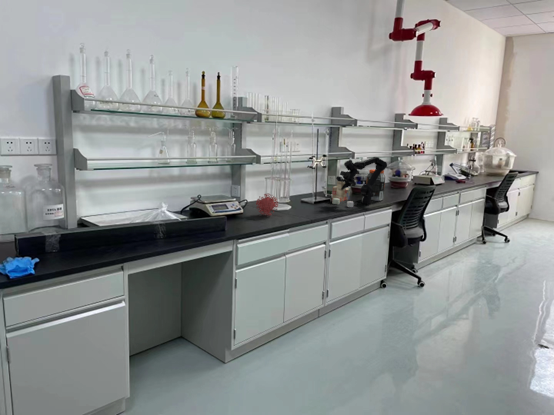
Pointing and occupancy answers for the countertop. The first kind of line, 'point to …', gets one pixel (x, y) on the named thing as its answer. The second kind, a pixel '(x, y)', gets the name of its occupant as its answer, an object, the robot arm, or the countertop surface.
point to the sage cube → (336, 201)
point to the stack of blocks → (346, 196)
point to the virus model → (267, 204)
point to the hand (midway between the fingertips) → (339, 188)
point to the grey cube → (350, 204)
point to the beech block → (340, 192)
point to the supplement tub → (377, 185)
